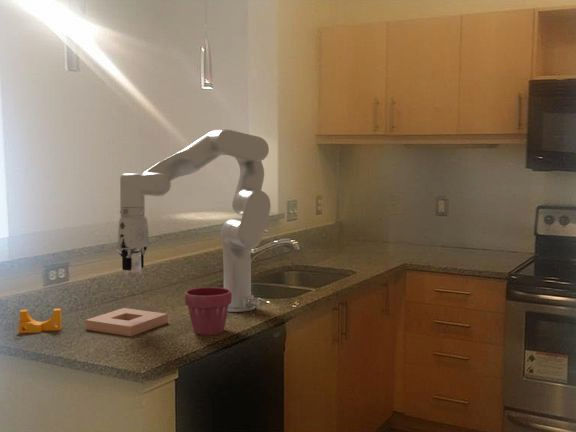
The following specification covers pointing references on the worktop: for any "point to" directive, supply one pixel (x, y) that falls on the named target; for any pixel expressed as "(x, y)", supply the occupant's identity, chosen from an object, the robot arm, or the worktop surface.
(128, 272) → the piston
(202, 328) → the plant pot
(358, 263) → the worktop surface
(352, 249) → the worktop surface
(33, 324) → the pipe clamp
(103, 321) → the pink square holed slab
